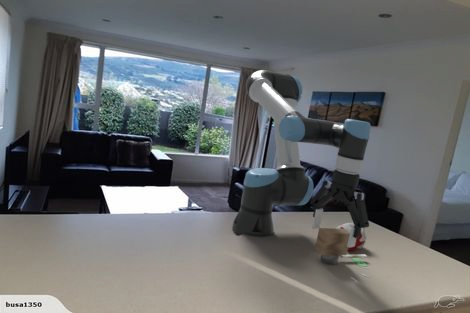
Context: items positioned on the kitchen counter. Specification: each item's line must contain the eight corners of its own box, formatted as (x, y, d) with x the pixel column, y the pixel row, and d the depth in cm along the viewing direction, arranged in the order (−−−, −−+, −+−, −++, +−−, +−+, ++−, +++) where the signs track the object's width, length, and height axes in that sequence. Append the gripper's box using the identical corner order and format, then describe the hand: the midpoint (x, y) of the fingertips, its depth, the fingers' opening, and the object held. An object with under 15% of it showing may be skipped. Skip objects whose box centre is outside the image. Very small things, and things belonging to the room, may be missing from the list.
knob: (321, 265, 102) (327, 234, 100) (312, 257, 107) (318, 227, 105) (370, 264, 108) (377, 234, 106) (359, 256, 113) (365, 228, 111)
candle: (360, 242, 129) (366, 263, 114) (330, 235, 131) (332, 255, 116) (366, 221, 126) (373, 240, 112) (335, 214, 128) (338, 232, 114)
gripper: (392, 183, 94) (375, 253, 97) (322, 161, 113) (310, 220, 117) (377, 183, 89) (359, 257, 93) (307, 160, 109) (295, 222, 113)
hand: (332, 237), depth 105 cm, fingers open, 13 cm apart
